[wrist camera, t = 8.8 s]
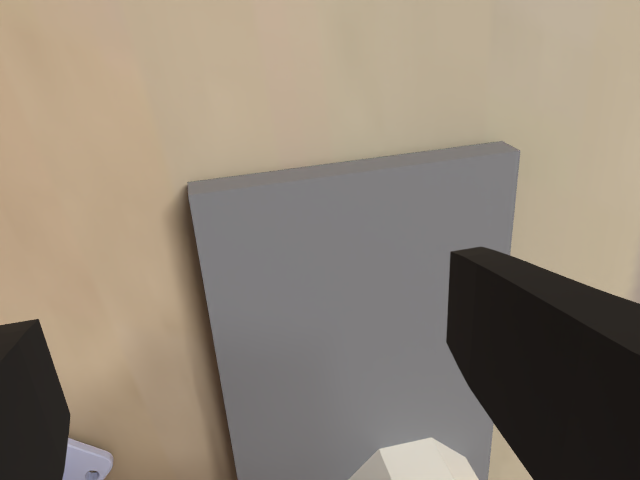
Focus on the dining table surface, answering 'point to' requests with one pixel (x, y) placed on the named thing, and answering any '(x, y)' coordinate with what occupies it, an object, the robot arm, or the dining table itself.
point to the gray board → (347, 305)
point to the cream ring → (416, 463)
